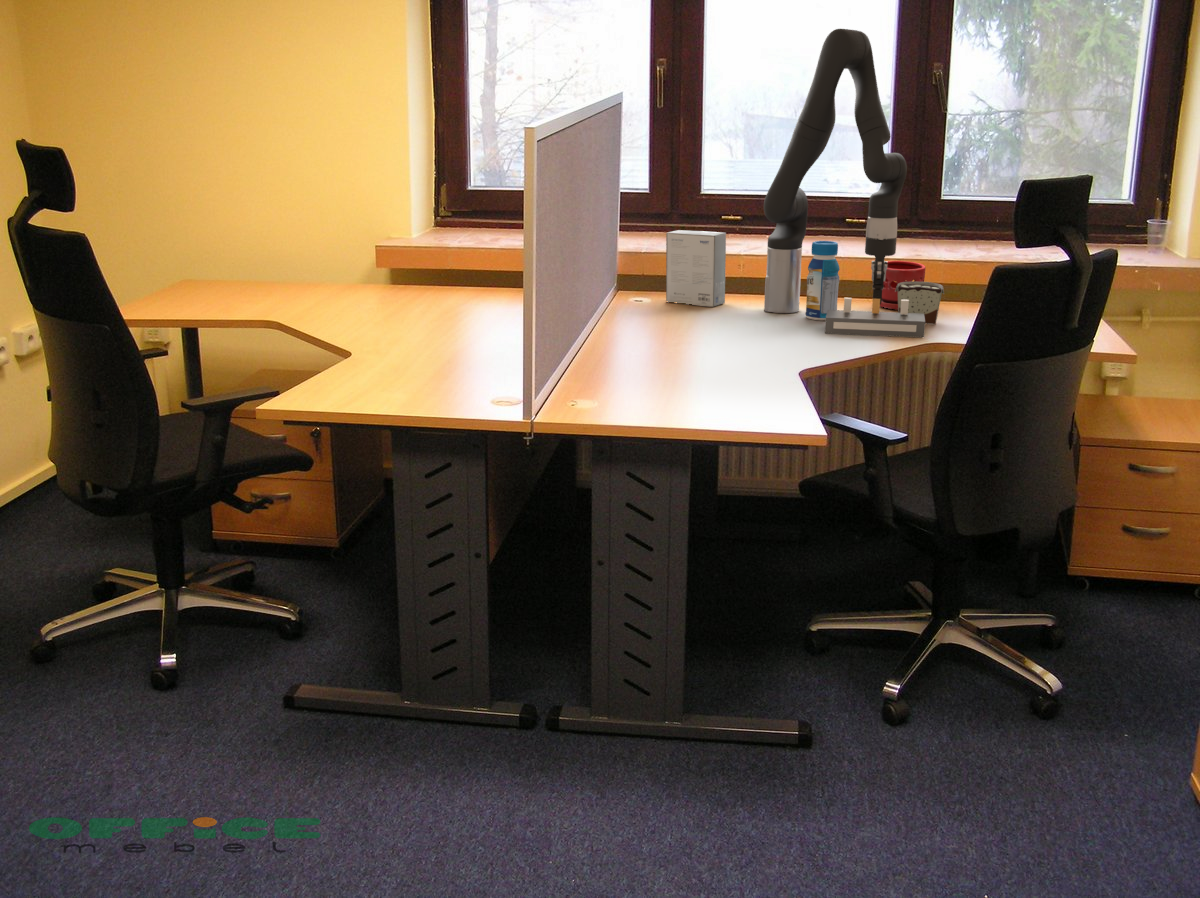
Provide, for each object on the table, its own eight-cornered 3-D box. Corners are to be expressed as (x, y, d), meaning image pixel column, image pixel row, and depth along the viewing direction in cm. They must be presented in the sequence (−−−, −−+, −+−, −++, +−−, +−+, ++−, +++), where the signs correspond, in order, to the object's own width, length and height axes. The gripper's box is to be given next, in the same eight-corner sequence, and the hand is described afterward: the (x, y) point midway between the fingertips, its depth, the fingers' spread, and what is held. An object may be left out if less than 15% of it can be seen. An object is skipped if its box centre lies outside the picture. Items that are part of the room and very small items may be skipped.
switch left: (843, 312, 296) (844, 298, 295) (843, 311, 297) (844, 297, 296) (850, 312, 296) (851, 298, 295) (850, 311, 297) (851, 297, 296)
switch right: (900, 314, 293) (901, 300, 292) (900, 313, 294) (901, 299, 293) (907, 314, 293) (908, 300, 292) (907, 313, 294) (908, 299, 293)
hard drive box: (725, 303, 331) (727, 232, 324) (713, 308, 324) (715, 235, 318) (677, 298, 339) (678, 228, 332) (664, 302, 332) (665, 232, 326)
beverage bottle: (835, 321, 306) (839, 245, 299) (802, 320, 308) (806, 244, 302) (838, 315, 313) (843, 240, 307) (807, 314, 316) (810, 239, 309)
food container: (943, 320, 307) (946, 282, 304) (941, 325, 301) (944, 286, 298) (895, 317, 311) (897, 280, 308) (892, 322, 305) (895, 284, 302)
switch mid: (871, 313, 295) (872, 299, 293) (871, 312, 296) (872, 298, 295) (879, 313, 294) (880, 299, 293) (879, 312, 295) (880, 298, 294)
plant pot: (864, 307, 324) (867, 264, 321) (892, 301, 332) (895, 258, 329) (904, 314, 315) (907, 269, 311) (931, 307, 323) (935, 264, 319)
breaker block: (824, 333, 292) (825, 317, 291) (826, 325, 302) (827, 309, 301) (923, 337, 287) (925, 321, 286) (922, 329, 296) (924, 313, 295)
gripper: (866, 231, 299) (862, 298, 304) (865, 238, 286) (861, 308, 292) (896, 232, 297) (891, 299, 302) (897, 239, 285) (892, 309, 290)
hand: (876, 303), depth 297 cm, fingers closed
